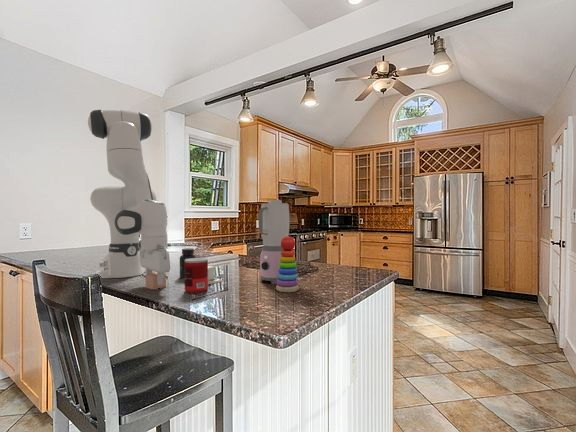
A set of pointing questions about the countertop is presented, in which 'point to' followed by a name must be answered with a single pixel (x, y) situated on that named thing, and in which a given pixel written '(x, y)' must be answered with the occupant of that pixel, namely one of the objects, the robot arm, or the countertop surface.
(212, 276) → the block
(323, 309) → the countertop surface
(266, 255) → the blender
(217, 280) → the build plate
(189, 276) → the canned food
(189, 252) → the supplement bottle
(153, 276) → the block
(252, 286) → the countertop surface
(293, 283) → the stacking toy
